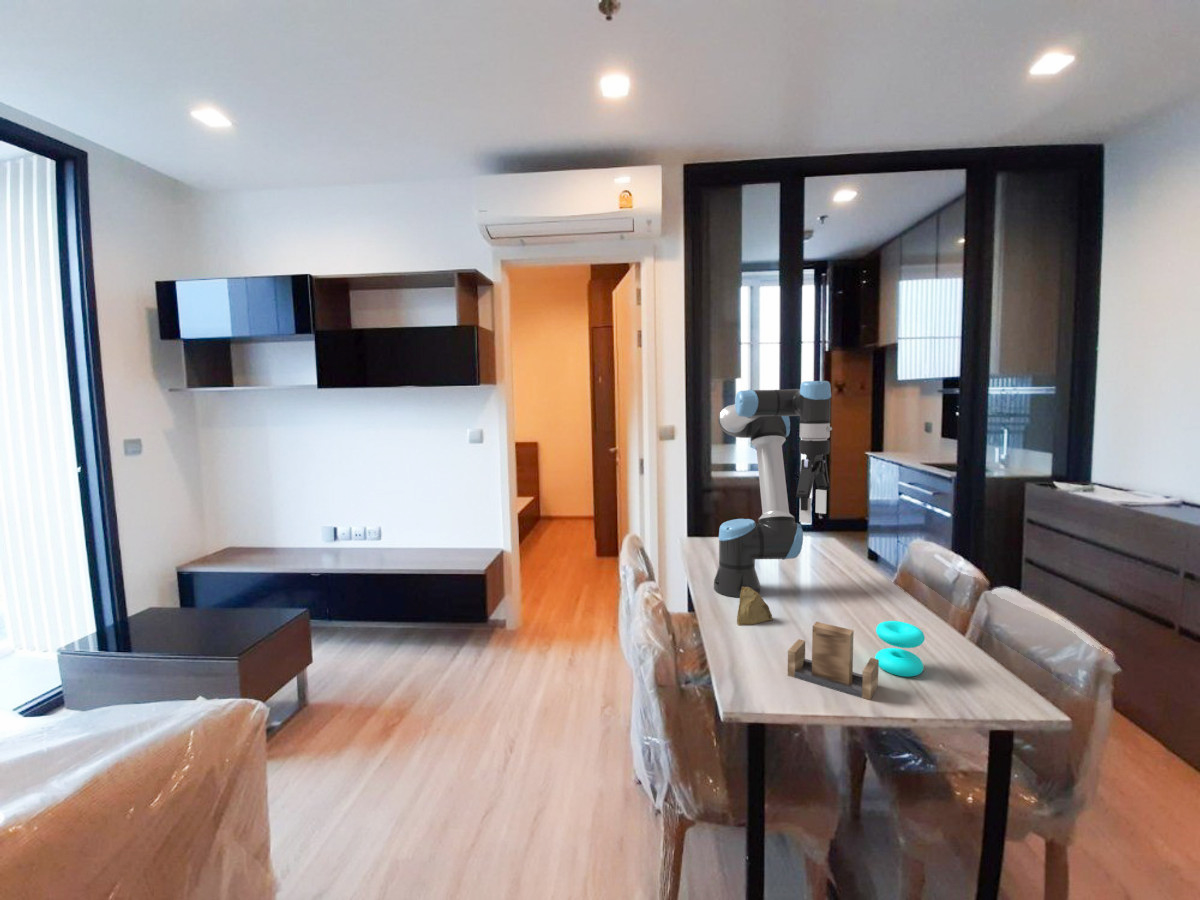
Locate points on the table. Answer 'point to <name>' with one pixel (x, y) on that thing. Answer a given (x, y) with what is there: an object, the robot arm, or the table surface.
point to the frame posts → (869, 673)
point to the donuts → (898, 658)
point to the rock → (752, 608)
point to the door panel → (832, 652)
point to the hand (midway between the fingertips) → (813, 517)
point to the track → (830, 680)
